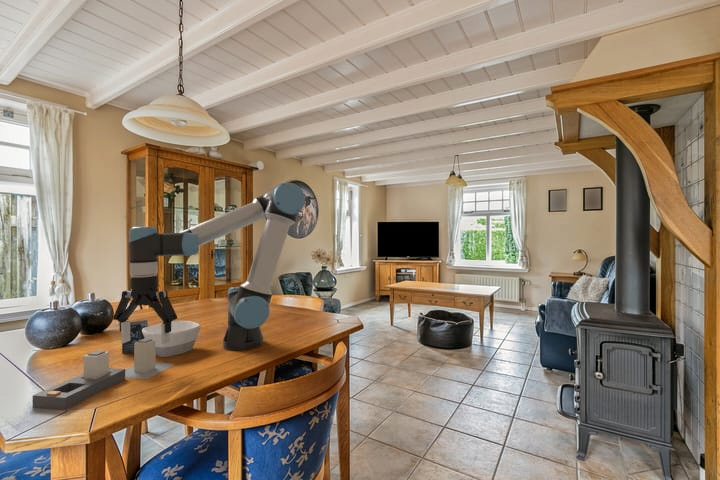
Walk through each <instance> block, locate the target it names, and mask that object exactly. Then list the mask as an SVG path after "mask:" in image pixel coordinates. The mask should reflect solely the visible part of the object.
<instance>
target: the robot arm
mask: <svg viewBox="0 0 720 480" xmlns="http://www.w3.org/2000/svg"><path fill="white" fill-rule="evenodd" d="M305 203H306V196H305V193H304V191H303V189H302V188H301V187H300V186H298V184H296V183H292V182H283V183H282V182H281V183H279V184H278V185H276V186H275V187H273V188H271V189H270V190H268V191H267V192H265V193H263V194H262V195H260V196H257V197H255V198H254V199H253V201H252V202H250V203H248V204H245V205H243V206H242V205H241V206H240V207H237V208H235V209H233V210H230V211H227V212H225V213H223V214H220V215H219V216H216V217H213V218H210V219H208V220H206V221H203V222H201V223H198V224H197V225H194V226H191V227H189V228H186V229H184V230H181V231H179V232H168V233H167V232H166V233H165V232H164V233H163V232H159V231H158V228H157V227H156V226H133V227H131V228H130V229H129V235H128V236H129V240H128V245H129V246H128V251H129V275H130V276H131V277H130V278H129V288H130V289H127V290H124V291H122V292H121V297H120V300H119V302H118V305H117V307H116V310H115V311H114V312H115V313H114V314H113V315H112V316H113V317H112V320H113V321H118V324H119V326H118V327H119V332H120V333H121V339H120V340H121V344H122V343H125V342H128V341H130V322H131V320H130V319H129V318H130V317H131V316H132V314H133V313H134V312H135V310H137V308H138V306H144V307H145V306H146V307H147V306H149V307H150V308H152V309H153V310H154V312H155V313H156V314H157V316H158V317H159V319H161V321H162V322H161V343H162V344H166V343H168V342H170V338H169V332H171V322H172V321H177V319H178V315H177V313H176V311H175V309H174V307H173V305H172V302H171V300H170V298H169V295H168V294H169V293H168V291H167V290H161V291H158V287H159V276H158V273H159V264H158V262H159V260H158V259H159V257H175V256H176V257H177V256H178V257H179V256H180V257H181V256H187V257H188V256H197V255H198V254H199V247H201V246H203V245H205V244H208V243H210V242H213V241H215V240H217V239H220V238H221V237H224V236H226V235H228V234H231V233H233V232H235V231H238V230H240V229H242V228H245V227H247V226H250V225H252V224H254V223H256V222H258V221H259V222H260V221H264V222H265V224H264V227H263V229H262V233H261V237H260V240H259V243H258V245H257V249H256V252H255V254H254V257H253V260H252V263H251V266H250V269H249V273H248V275H247V278H246V281H245V282H243V283H241V284H240V285H239V286H233V287H229V289H227V327H226V330H225V333H224V337H223V340H222V348H224V349H225V350H228V351H248V350H252V349H255V348H260V347H261V346H262V345H264V336H263V332H262V330H261V326H262V325H264V323H265V322H267V320H268V319H269V316H270V312H271V310H270V301H271V299H272V295H273V293H272V290H271V285H272V282H273V279H274V276H275V272H276V270H277V266H278V263H279V261H280V257H281V254H282V252H283V248H284V245H285V241H286V238H287V235H288V232H289V230H290V227H291V226H292V225H295V224H296V220H297V218H298V215H299V213H300V212H301V211H302V210H303V208H304V207H305Z"/></svg>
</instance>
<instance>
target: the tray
mask: <svg viewBox="0 0 720 480" xmlns="http://www.w3.org/2000/svg"><path fill="white" fill-rule="evenodd" d="M174 365H175V363H170V362H169V363H167V362H166V363H165V362H155V368H154V369H152V370H150V371H148V372H146V373H143V372H134V365H133V366H130V367H128V368H126V369H125V379H126V378H129V379H141V380H143V379H144V380H149V379H150V378H153V377H154V376H156V375H158V374H160V373H161V372H163V371H166V370H167V369H169V368H170V367H172V366H174Z"/></svg>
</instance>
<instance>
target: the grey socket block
mask: <svg viewBox="0 0 720 480" xmlns="http://www.w3.org/2000/svg"><path fill="white" fill-rule="evenodd" d="M125 370H126V369H125V368H114V367H113V368H112V367H111V368H110V367H109V374H107V375H105V376H103V377H101V378H99V379H84V373H82V374H79V375H77V376H75V377H72V378H70V379H67V380H66V381H63V382H61V383H58V384H56V385H53V386H52V387H49V388H47V389H44V390H42V391H40V392H37V393H35V394H32V409H42V410H45V409H46V410H56V411H67V410H68V409H70V408H73V407H74V406H76V405H78V404H80V403H82V402H84V401H86V400H88V399H89V398H91V397H93V396H95V395H97V394H99V393H101V392H103V391H105V390H107V389H109V388H111V387H113V386H115V385H117V384H119V383H121V382H123V381H126V378H125Z"/></svg>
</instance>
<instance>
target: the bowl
mask: <svg viewBox="0 0 720 480" xmlns="http://www.w3.org/2000/svg"><path fill="white" fill-rule="evenodd" d="M161 323H162V322H161ZM161 323H160V322H159V323H156V324H152V325H148V327H145V328H143V329H142V333H143V335H144V338H145V339H152V340H155V357H161V358H167V357H169V358H170V357H174V356H177V355H181V354H184V353H187V352H191V351H192V350H193V349H194V346H195V343H196V340H197V338H198V336H199V333H200V330H201V325H200V324H199V323H197V322H194V321H189V320H173V321H172V322H171V332H169V338H170V342H168V343H166V344H162V343H161Z"/></svg>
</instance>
